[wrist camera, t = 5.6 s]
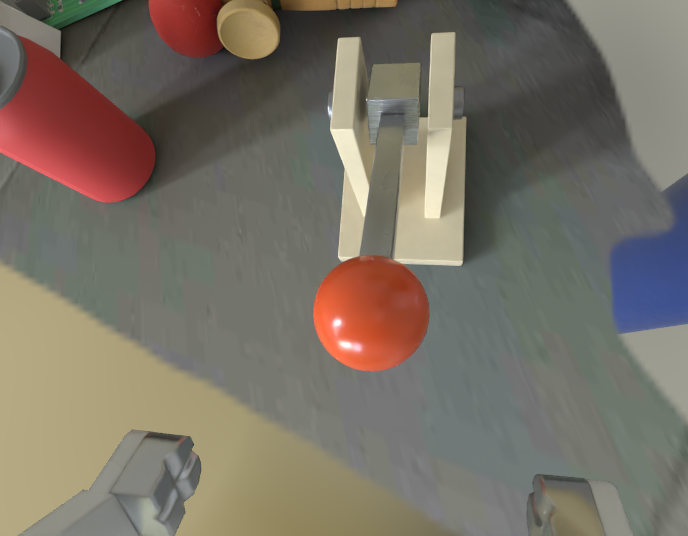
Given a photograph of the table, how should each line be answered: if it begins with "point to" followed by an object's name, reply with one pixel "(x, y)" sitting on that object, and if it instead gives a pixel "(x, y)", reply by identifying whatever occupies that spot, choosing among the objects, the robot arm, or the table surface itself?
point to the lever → (378, 243)
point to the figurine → (30, 28)
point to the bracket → (405, 159)
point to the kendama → (233, 23)
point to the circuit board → (62, 10)
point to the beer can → (67, 125)
